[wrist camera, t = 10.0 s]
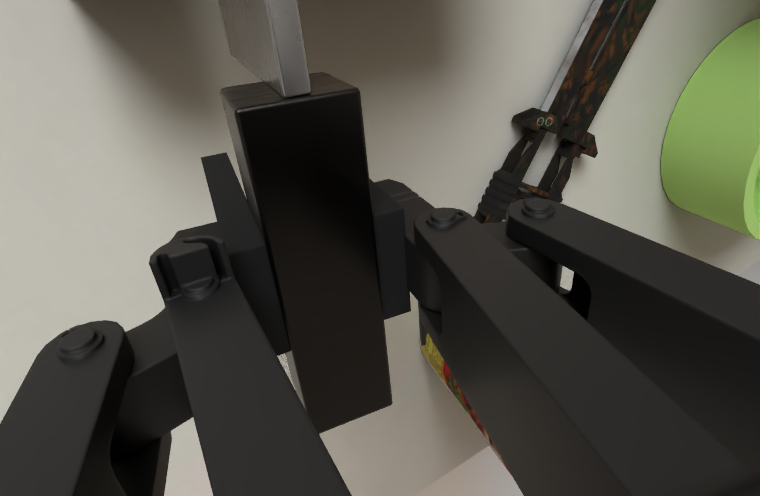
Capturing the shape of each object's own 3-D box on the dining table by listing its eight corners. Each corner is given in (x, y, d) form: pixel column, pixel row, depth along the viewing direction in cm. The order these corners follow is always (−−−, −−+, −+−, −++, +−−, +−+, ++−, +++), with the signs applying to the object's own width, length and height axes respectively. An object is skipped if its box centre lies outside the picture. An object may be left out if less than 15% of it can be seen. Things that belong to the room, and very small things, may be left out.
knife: (675, -177, 24) (701, -186, 23) (728, -95, 27) (753, -99, 26) (438, 249, 30) (449, 259, 29) (505, 273, 34) (517, 283, 32)
